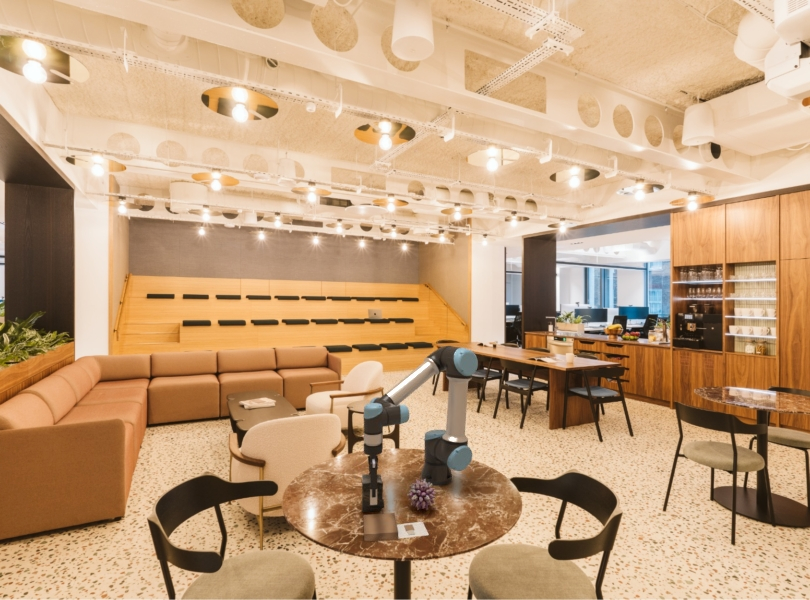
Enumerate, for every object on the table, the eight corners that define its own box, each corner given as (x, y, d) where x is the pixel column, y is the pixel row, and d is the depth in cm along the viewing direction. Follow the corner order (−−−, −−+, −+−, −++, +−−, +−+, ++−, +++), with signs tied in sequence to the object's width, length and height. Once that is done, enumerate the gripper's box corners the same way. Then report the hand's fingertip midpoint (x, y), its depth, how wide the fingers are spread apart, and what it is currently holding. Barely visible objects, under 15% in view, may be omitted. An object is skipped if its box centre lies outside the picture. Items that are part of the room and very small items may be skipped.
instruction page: (422, 522, 158) (422, 521, 158) (428, 535, 149) (428, 534, 149) (391, 525, 155) (391, 524, 155) (396, 539, 147) (396, 538, 147)
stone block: (383, 512, 166) (383, 502, 171) (384, 482, 161) (384, 473, 166) (361, 513, 165) (362, 503, 170) (361, 483, 161) (362, 473, 166)
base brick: (394, 520, 159) (394, 512, 159) (398, 540, 146) (398, 532, 146) (363, 522, 158) (363, 514, 157) (364, 542, 145) (364, 534, 145)
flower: (439, 515, 163) (439, 485, 163) (409, 517, 161) (409, 487, 161) (432, 500, 175) (432, 472, 175) (405, 503, 173) (405, 474, 173)
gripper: (362, 433, 176) (362, 485, 176) (364, 453, 154) (364, 513, 154) (380, 433, 177) (380, 484, 177) (384, 453, 154) (384, 511, 155)
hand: (372, 497), depth 165 cm, fingers open, 10 cm apart
